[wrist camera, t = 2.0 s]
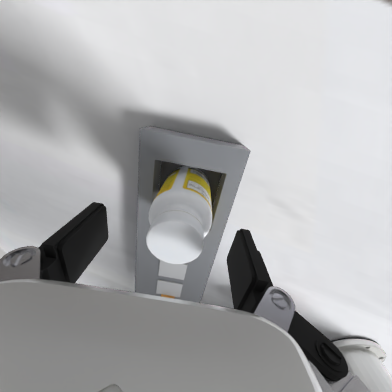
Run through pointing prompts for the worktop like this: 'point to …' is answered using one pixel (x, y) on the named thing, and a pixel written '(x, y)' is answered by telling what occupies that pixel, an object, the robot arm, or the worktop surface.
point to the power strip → (228, 185)
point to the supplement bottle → (180, 216)
